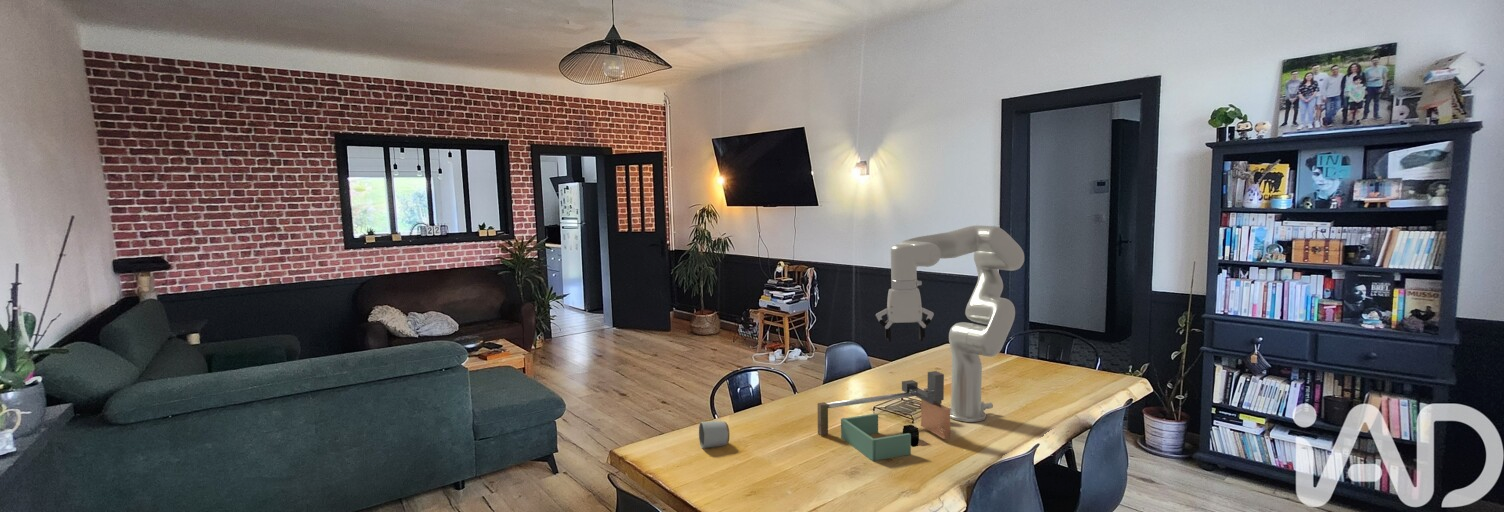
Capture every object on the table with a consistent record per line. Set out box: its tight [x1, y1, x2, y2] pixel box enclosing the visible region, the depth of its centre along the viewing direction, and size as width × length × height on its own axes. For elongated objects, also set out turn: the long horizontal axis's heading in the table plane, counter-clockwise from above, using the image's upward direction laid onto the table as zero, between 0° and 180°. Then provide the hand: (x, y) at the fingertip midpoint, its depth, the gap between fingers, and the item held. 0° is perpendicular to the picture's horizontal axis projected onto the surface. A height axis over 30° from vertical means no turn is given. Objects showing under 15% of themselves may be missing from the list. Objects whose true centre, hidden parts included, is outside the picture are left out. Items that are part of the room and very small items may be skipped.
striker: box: [901, 370, 951, 440], centre depth 202 cm, size 4×22×18 cm, turn 20°
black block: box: [902, 424, 929, 448], centre depth 195 cm, size 12×7×5 cm, turn 23°
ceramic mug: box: [698, 420, 730, 449], centre depth 194 cm, size 11×8×8 cm
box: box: [840, 413, 912, 462], centre depth 191 cm, size 12×19×6 cm, turn 19°
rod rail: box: [817, 387, 928, 437], centre depth 207 cm, size 41×2×10 cm, turn 109°
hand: (905, 340), depth 196 cm, fingers open, 9 cm apart
